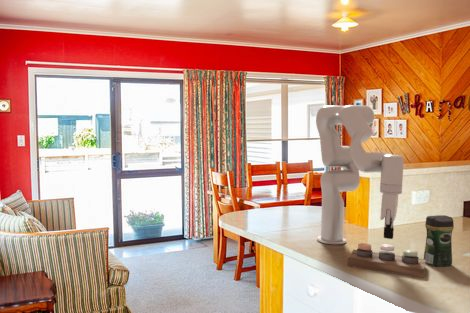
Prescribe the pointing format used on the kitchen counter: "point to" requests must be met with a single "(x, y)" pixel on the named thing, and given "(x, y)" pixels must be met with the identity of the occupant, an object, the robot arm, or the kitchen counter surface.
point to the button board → (387, 262)
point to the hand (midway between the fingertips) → (388, 237)
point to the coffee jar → (438, 240)
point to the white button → (387, 247)
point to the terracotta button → (364, 246)
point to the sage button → (410, 252)
